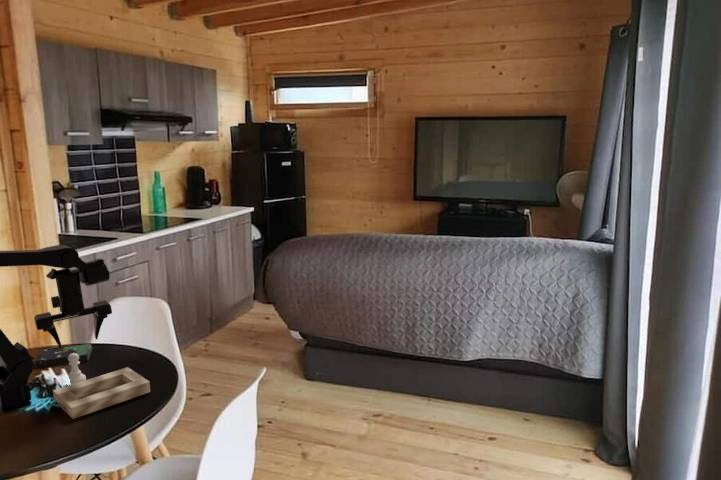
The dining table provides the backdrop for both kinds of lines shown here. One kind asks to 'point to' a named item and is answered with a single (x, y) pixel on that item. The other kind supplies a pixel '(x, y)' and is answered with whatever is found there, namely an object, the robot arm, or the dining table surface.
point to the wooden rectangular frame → (92, 403)
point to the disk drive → (62, 355)
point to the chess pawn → (75, 369)
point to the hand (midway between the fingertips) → (78, 343)
